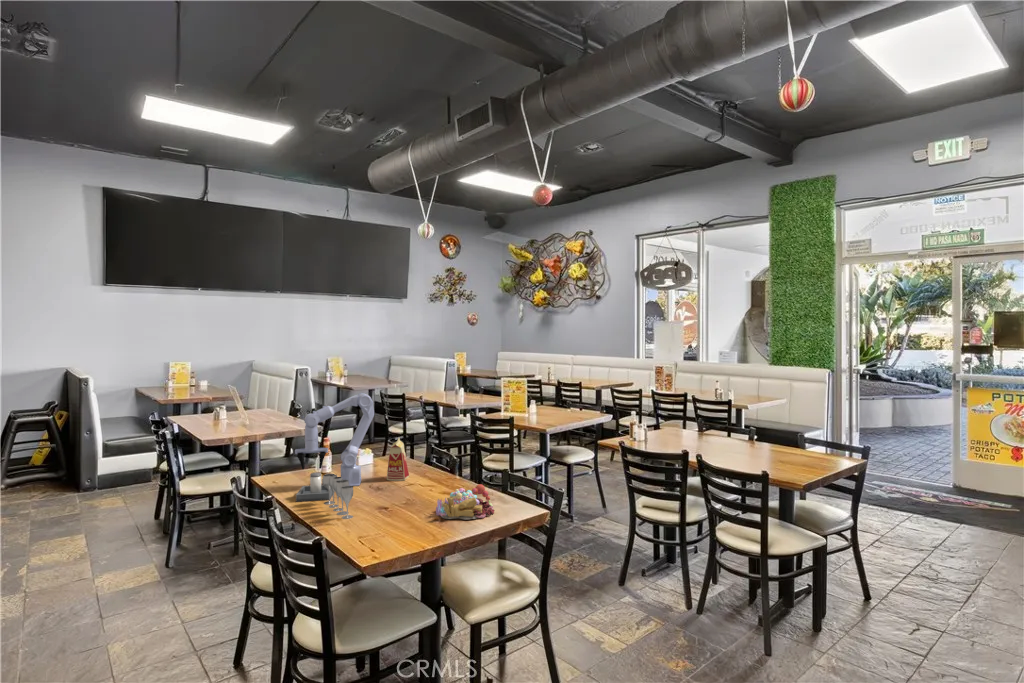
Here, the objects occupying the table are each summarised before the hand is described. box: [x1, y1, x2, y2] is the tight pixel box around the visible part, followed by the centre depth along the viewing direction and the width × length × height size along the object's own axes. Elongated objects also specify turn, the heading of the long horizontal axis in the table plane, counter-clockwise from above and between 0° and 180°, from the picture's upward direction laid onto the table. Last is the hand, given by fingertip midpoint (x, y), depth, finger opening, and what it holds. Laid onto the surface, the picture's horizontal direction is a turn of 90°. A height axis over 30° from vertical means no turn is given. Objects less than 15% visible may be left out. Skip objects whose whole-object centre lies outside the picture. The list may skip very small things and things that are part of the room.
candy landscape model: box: [435, 484, 495, 520], centre depth 221 cm, size 25×24×9 cm
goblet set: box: [321, 473, 354, 520], centre depth 224 cm, size 28×6×13 cm, turn 36°
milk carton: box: [386, 437, 410, 482], centre depth 271 cm, size 9×9×20 cm
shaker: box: [309, 471, 322, 493], centre depth 242 cm, size 5×5×9 cm
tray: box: [295, 484, 333, 503], centre depth 242 cm, size 14×14×3 cm
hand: (311, 468), depth 254 cm, fingers open, 7 cm apart
